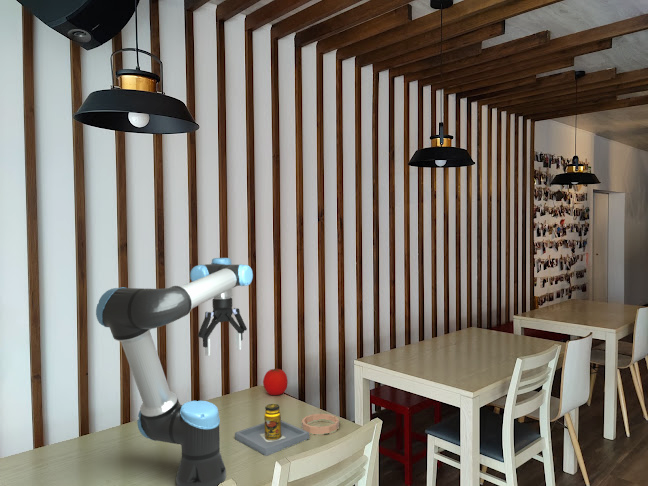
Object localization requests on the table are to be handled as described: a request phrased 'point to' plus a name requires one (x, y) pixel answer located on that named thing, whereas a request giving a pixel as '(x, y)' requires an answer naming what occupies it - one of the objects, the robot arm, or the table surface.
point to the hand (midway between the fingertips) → (223, 352)
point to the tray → (266, 448)
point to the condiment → (272, 423)
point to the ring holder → (324, 428)
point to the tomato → (275, 382)
